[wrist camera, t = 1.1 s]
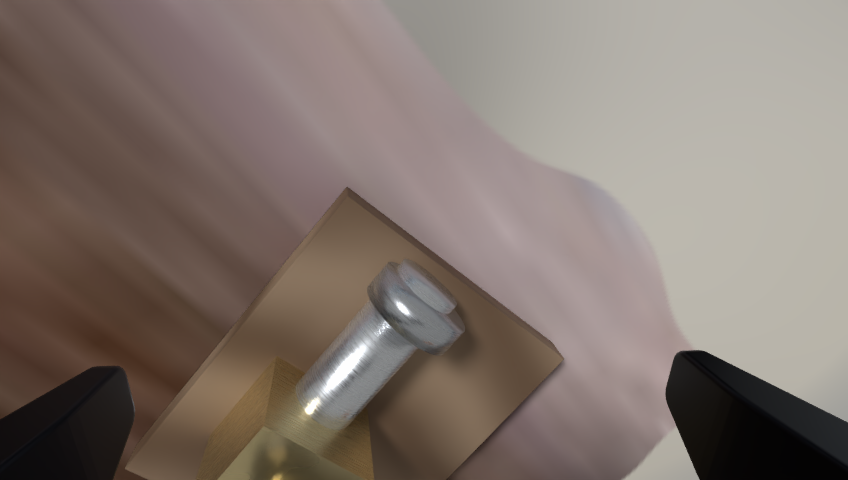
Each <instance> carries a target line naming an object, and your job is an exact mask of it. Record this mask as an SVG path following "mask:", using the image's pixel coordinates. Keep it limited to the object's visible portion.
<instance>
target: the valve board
mask: <svg viewBox="0 0 848 480" xmlns="http://www.w3.org/2000/svg"><path fill="white" fill-rule="evenodd" d="M563 360H564V358H563V357H562V355H561V354H560V353H559V351H558V350H557V348H556V347H555V346H554V344H553V343H552V342H551V341H550V340H548V339H547V338H546V337H544V336H543V335H542V334H540V333H539V332H538V331H536V330H535V329H534V328H532V327H531V326H530V325H528V324H527V323H526V322H524V321H523V320H522V319H521V318H519V317H518V316H517V315H515V314H514V313H513V312H511V311H510V310H509V309H507V308H506V307H505V306H503V305H502V304H501V303H499V302H498V301H497V300H496V299H494V298H493V297H492V296H490V295H489V294H488V293H486V292H485V291H484V290H482V289H481V288H480V287H478V286H477V285H476V284H474V283H473V282H472V281H471V280H469V279H468V278H467V277H465V276H464V275H463V274H461V273H460V272H459V271H457V270H456V269H455V268H453V267H452V266H451V265H449V264H448V263H447V262H445V261H444V260H443V259H442V258H440V257H439V256H438V255H436V254H435V253H434V252H432V251H431V250H430V249H428V248H427V247H426V246H424V245H423V244H422V243H420V242H419V241H418V240H417V239H415V238H414V237H413V236H411V235H410V234H409V233H407V232H406V231H405V230H403V229H402V228H401V227H399V226H398V225H397V224H395V223H394V222H393V221H392V220H390V219H389V218H388V217H386V216H385V215H384V214H382V213H381V212H380V211H378V210H377V209H376V208H374V207H373V206H372V205H370V204H369V203H368V202H366V201H365V200H364V199H363V198H361V197H360V196H359V195H357V194H356V193H355V192H353V191H352V190H351V189H349V188H348V187H346V188H345V190H344V191H343V192H342V193H341V195H340V196H339V197H338V198H337V200H336V201H335V202H334V203H333V204H332V206H331V207H330V208H329V209H328V211H327V212H326V213H325V214H324V215H323V217H322V218H321V219H320V220H319V222H318V223H317V224H316V225H315V227H314V228H313V229H312V230H311V231H310V233H309V234H308V235H307V236H306V238H305V239H304V240H303V241H302V242H301V244H300V245H299V246H298V247H297V249H296V250H295V251H294V252H293V254H292V255H291V256H290V257H289V258H288V260H287V261H286V262H285V263H284V265H283V266H282V267H281V268H280V269H279V271H278V272H277V273H276V274H275V276H274V277H273V278H272V279H271V281H270V282H269V283H268V284H267V285H266V287H265V288H264V289H263V290H262V292H261V293H260V294H259V295H258V296H257V298H256V299H255V300H254V301H253V303H252V304H251V305H250V306H249V308H248V309H247V310H246V311H245V312H244V314H243V315H242V316H241V317H240V319H239V320H238V321H237V322H236V323H235V325H234V326H233V327H232V328H231V330H230V331H229V332H228V333H227V335H226V336H225V337H224V338H223V339H222V341H221V342H220V343H219V344H218V346H217V347H216V348H215V349H214V350H213V352H212V353H211V354H210V355H209V357H208V358H207V359H206V360H205V362H204V363H203V364H202V365H201V366H200V368H199V369H198V370H197V371H196V373H195V374H194V375H193V376H192V377H191V379H190V380H189V381H188V382H187V384H186V385H185V386H184V387H183V388H182V390H181V391H180V392H179V393H178V395H177V396H176V397H175V398H174V400H173V401H172V402H171V403H170V404H169V406H168V407H167V408H166V409H165V411H164V412H163V413H162V414H161V415H160V417H159V418H158V419H157V420H156V422H155V423H154V424H153V425H152V427H151V428H150V429H149V430H148V431H147V433H146V434H145V435H144V436H143V438H142V439H141V440H140V441H139V442H138V444H137V445H136V447H135V449H134V451H133V453H132V455H131V457H130V459H129V461H128V463H127V465H126V467H125V469H126V470H128V471H131V472H133V473H135V474H137V475H139V476H142V477H144V478H146V479H148V480H446V479H447V478H448V477H449V476H450V475H451V474H452V473H453V472H454V471H455V470H456V469H457V468H458V467H459V466H460V465H461V464H462V463H463V462H464V461H465V460H466V459H467V458H468V457H469V456H470V455H471V454H472V453H473V452H474V451H475V450H476V449H477V448H478V447H479V446H480V445H481V444H482V443H483V442H484V441H485V439H486V438H487V437H488V436H489V435H490V434H491V433H492V432H493V431H494V430H495V429H496V428H497V427H498V426H499V425H500V424H501V423H502V422H503V421H504V420H505V419H506V418H507V417H508V416H509V415H510V414H511V413H512V412H513V411H514V410H515V409H516V408H517V407H518V406H519V405H520V404H521V403H522V402H523V401H524V400H525V398H526V397H527V396H528V395H529V394H530V393H531V392H532V391H533V390H534V389H535V388H536V387H537V386H538V385H539V384H540V383H541V382H542V381H543V380H544V379H545V378H546V377H547V376H548V375H549V374H550V373H551V372H552V371H553V370H554V369H555V368H556V367H557V366H558V365H559V364H560V363H561V362H562V361H563Z"/></svg>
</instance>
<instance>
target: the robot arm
mask: <svg viewBox="0 0 848 480" xmlns="http://www.w3.org/2000/svg"><path fill="white" fill-rule="evenodd" d="M666 401H667V404H668V407H669V409H670V412H671V414H672V416H673V419H674V421H675V423H676V426H677V428H678V430H679V433H680V435H681V437H682V440H683V442H684V445H685V447H686V449H687V452H688V454H689V456H690V459H691V461H692V463H693V466H694V468H695V470H696V473H697V475H698V477H699V479H700V480H848V422H846V421H844V420H842V419H840V418H838V417H836V416H834V415H832V414H830V413H827V412H825V411H824V410H822V409H820V408H818V407H816V406H814V405H812V404H809V403H808V402H806V401H804V400H802V399H800V398H797V397H796V396H794V395H792V394H790V393H788V392H785V391H783V390H782V389H779V388H777V387H776V386H774V385H771V384H770V383H768V382H766V381H763V380H761V379H759V378H758V377H755V376H753V375H751V374H749V373H747V372H745V371H743V370H741V369H739V368H737V367H735V366H733V365H731V364H729V363H727V362H725V361H723V360H721V359H719V358H717V357H715V356H713V355H711V354H709V353H707V352H705V351H701V350H692V351H680V352H678V353H677V354H676V355H675V357H674V360H673V364H672V367H671V371H670V375H669V379H668V382H667V386H666ZM134 417H135V407H134V403H133V399H132V395H131V391H130V387H129V383H128V380H127V376H126V373H125V371H124V369H123V368H121V367H119V366H97V367H92V368H90V369H88V370H86V371H84V372H83V373H81V374H79V375H77V376H76V377H74V378H72V379H70V380H69V381H67V382H65V383H63V384H62V385H60V386H58V387H56V388H55V389H53V390H51V391H49V392H48V393H46V394H44V395H42V396H40V397H39V398H37V399H35V400H33V401H32V402H30V403H28V404H26V405H25V406H23V407H21V408H19V409H18V410H16V411H14V412H12V413H11V414H9V415H7V416H5V417H4V418H2V419H0V480H113V478H114V476H115V473H116V470H117V467H118V464H119V462H120V459H121V456H122V453H123V450H124V447H125V445H126V442H127V439H128V436H129V433H130V430H131V428H132V425H133V422H134Z"/></svg>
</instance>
